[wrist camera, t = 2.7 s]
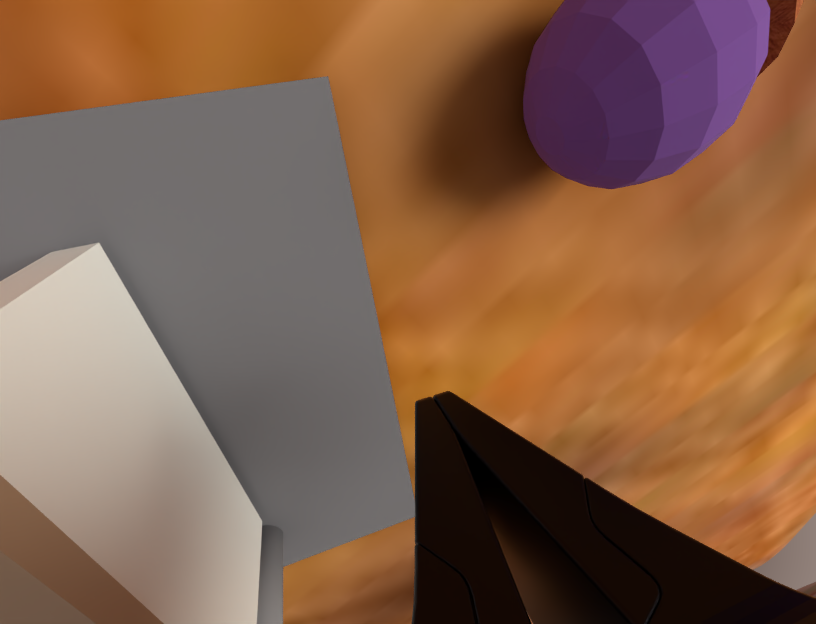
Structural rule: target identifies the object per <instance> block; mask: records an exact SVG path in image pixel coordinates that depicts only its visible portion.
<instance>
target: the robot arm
mask: <svg viewBox="0 0 816 624" xmlns="http://www.w3.org/2000/svg"><path fill="white" fill-rule="evenodd" d="M415 544H416V545H415V575H414V604H413V615H412V624H531V621H530V619H531V620H532V622H533V624H816V598H815V597H812V596H810V595H807V594H804V593H802V592H799V591H796V590H794V589H792V588H789V587H787V586H785V585H782V584H780V583H778V582H776V581H774V580H772V579H769V578H767V577H765V576H764V575H762V574H760V573H758V572H756V571H754V570H752V569H750V568H748V567H746V566H744V565H742V564H740V563H739V562H737V561H735V560H733V559H731V558H729V557H727V556H725V555H723V554H721V553H720V552H718V551H716V550H714V549H712V548H710V547H708V546H706V545H704V544H702V543H700V542H699V541H697V540H695V539H693V538H691V537H689V536H687V535H685V534H683V533H681V532H680V531H678V530H676V529H674V528H672V527H670V526H668V525H666V524H665V523H663V522H661V521H659V520H657V519H655V518H654V517H652V516H650V515H648V514H646V513H645V512H643V511H641V510H639V509H637V508H635V507H634V506H632V505H630V504H629V503H627V502H625V501H624V500H622V499H620V498H619V497H617V496H616V495H614V494H612V493H611V492H609V491H607V490H606V489H604V488H602V487H601V486H599V485H598V484H596V483H594V482H593V481H591V480H590V479H588V478H585V479H584V477H583V475H582V474H580V473H578V472H577V471H575V470H574V469H572V468H571V467H569V466H567V465H566V464H564V463H563V462H561V461H559V460H558V459H556V458H555V457H553V456H552V455H550V454H548V453H547V452H545V451H544V450H542V449H541V448H539V447H537V446H536V445H534V444H533V443H531V442H529V441H528V440H526V439H525V438H523V437H522V436H520V435H518V434H517V433H515V432H514V431H512V430H511V429H509V428H507V427H506V426H504V425H503V424H501V423H499V422H498V421H496V420H495V419H493V418H492V417H490V416H488V415H487V414H485V413H484V412H482V411H481V410H479V409H477V408H476V407H474V406H473V405H471V404H469V403H468V402H466V401H465V400H463V399H462V398H460V397H458V396H457V395H455V394H454V393H452V392H450V391H446V392H443V393H440V394H436V395H434V396H433V398H432V397H427V398H424V399H421V400H418V401H416V403H415ZM527 613H528V614H527ZM528 615H529V616H528ZM529 617H530V619H529Z"/></svg>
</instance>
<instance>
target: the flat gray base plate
mask: <svg viewBox="0 0 816 624" xmlns="http://www.w3.org/2000/svg"><path fill="white" fill-rule="evenodd" d="M94 243H100V245H101V247H102V248H103V250H104V252H105V254H106V255H107V257H108V259H109V260H110V262H111V264H112V266H113V267H114V269H115V271H116V272H117V274H118V276H119V277H120V279H121V281H122V283H123V284H124V286H125V288H126V289H127V291H128V293H129V295H130V296H131V298H132V300H133V301H134V303H135V305H136V306H137V308H138V310H139V312H140V313H141V315H142V317H143V318H144V320H145V322H146V324H147V325H148V327H149V329H150V330H151V332H152V334H153V336H154V337H155V339H156V341H157V342H158V344H159V346H160V347H161V349H162V351H163V353H164V354H165V356H166V358H167V359H168V361H169V363H170V365H171V366H172V368H173V370H174V371H175V373H176V375H177V376H178V378H179V380H180V382H181V383H182V385H183V387H184V388H185V390H186V392H187V394H188V395H189V397H190V399H191V400H192V402H193V404H194V406H195V407H196V409H197V411H198V412H199V414H200V416H201V417H202V419H203V421H204V423H205V424H206V426H207V428H208V429H209V431H210V433H211V435H212V436H213V438H214V440H215V441H216V443H217V445H218V447H219V448H220V450H221V452H222V453H223V455H224V457H225V458H226V460H227V462H228V464H229V465H230V467H231V469H232V470H233V472H234V474H235V476H236V477H237V479H238V481H239V482H240V484H241V486H242V487H243V489H244V491H245V493H246V494H247V496H248V498H249V499H250V501H251V503H252V505H253V506H254V508H255V510H256V511H257V513H258V515H259V517H260V518H261V520H262V536H261V555H260V573H259V591H258V610H257V624H283V567H284V566H287V565H289V564H292V563H295V562H297V561H300V560H303V559H305V558H308V557H310V556H313V555H316V554H318V553H321V552H324V551H326V550H329V549H331V548H334V547H337V546H339V545H342V544H345V543H347V542H350V541H352V540H355V539H358V538H360V537H363V536H366V535H368V534H371V533H374V532H376V531H379V530H381V529H384V528H387V527H389V526H392V525H395V524H397V523H400V522H402V521H405V520H408V519H410V518H413V517H415V500H414V495H413V490H412V485H411V480H410V475H409V470H408V465H407V461H406V456H405V451H404V446H403V441H402V436H401V431H400V426H399V421H398V416H397V412H396V407H395V402H394V397H393V392H392V387H391V382H390V377H389V372H388V367H387V363H386V358H385V353H384V348H383V343H382V338H381V333H380V328H379V323H378V319H377V314H376V309H375V304H374V299H373V294H372V289H371V284H370V279H369V274H368V270H367V265H366V260H365V255H364V250H363V245H362V240H361V235H360V230H359V225H358V221H357V216H356V211H355V206H354V201H353V196H352V191H351V186H350V181H349V176H348V172H347V167H346V162H345V157H344V152H343V147H342V142H341V137H340V132H339V128H338V123H337V118H336V113H335V108H334V103H333V98H332V93H331V88H330V83H329V79H328V76H327V77H320V78H312V79H305V80H298V81H290V82H283V83H275V84H268V85H260V86H253V87H246V88H238V89H231V90H223V91H216V92H209V93H201V94H194V95H186V96H179V97H172V98H164V99H157V100H149V101H142V102H134V103H127V104H120V105H112V106H105V107H97V108H90V109H83V110H75V111H68V112H60V113H53V114H46V115H38V116H31V117H23V118H16V119H8V120H1V121H0V281H2V280H4V279H5V278H7V277H9V276H11V275H12V274H14V273H16V272H17V271H19V270H21V269H23V268H24V267H26V266H28V265H30V264H31V263H33V262H35V261H37V260H38V259H40V258H42V257H43V256H45V255H47V254H49V253H50V252H54V251H59V250H64V249H69V248H74V247H79V246H84V245H89V244H94Z"/></svg>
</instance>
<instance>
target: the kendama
mask: <svg viewBox="0 0 816 624" xmlns="http://www.w3.org/2000/svg"><path fill="white" fill-rule="evenodd" d="M803 1H804V0H564V2H563V3H562V4H561V6H560V7H559V8H558V10H557V11H556V12H555V14H554V15H553V17H552V18H551V20H550V21H549V23H548V24H547V26H546V27H545V29H544V30H543V32H542V34H541V35H540V37H539V38H538V40H537V41H536V43H535V44H534V47H533V51H532V54H531V58H530V61H529V65H528V69H527V72H526V79H525V88H524V96H523V113H524V122H525V126H526V129H527V132H528V136H529V139H530V141H531V143H532V144H533V146H534V148H535V150H536V152H537V153H538V155H539V157H540V158H541V159H542V160H543V161H544V162H545V163H546V164H547V165H548V166H549V167H550V168H551V169H552V170H553V171H555V172H557V173H559V174H560V175H562V176H564V177H566V178H568V179H570V180H573V181H576V182H578V183H581V184H584V185H587V186H592V187H599V188H606V189H615V188H620V187H625V186H630V185H636V184H641V183H644V182H647V181H650V180H654V179H657V178H660V177H663V176H666V175H669V174H672V173H674V172H675V171H677V170H678V169H679V168H681V167H682V166H684V165H685V164H686V163H688V162H689V161H691V160H692V159H693V158H695V157H696V156H698V155H699V154H700V153H702V152H703V151H704V150H705V149H707V148H708V147H709V146H710V145H711V144H712V143H713V142H714V141H715V140H716V139H717V138H719V137H720V136H721V135H722V134H723V133H724V132H725V131H726V130H727V129H728V128H730V127H731V126H732V125H733V124H734V122H735V120H736V119H737V117H738V115H739V113H740V111H741V109H742V107H743V105H744V103H745V101H746V99H747V97H748V95H749V93H750V91H751V88H752V86H753V84H754V82H755V80H756V78H757V77H758V76H759V75H760V74H761V73H762V72H763V71H764V70H765V69H766V68H767V67H768V66H769V65H770V64H771V63H772V62H773V61H774V60H775V59H776V58H777V57H778V55H779V53H780V51H781V49H782V47H783V45H784V43H785V41H786V39H787V37H788V35H789V33H790V31H791V29H792V27H793V25H794V23H795V21H796V18H797V16H798V13H799V11H800V8H801V6H802V3H803Z"/></svg>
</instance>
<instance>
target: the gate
mask: <svg viewBox="0 0 816 624" xmlns="http://www.w3.org/2000/svg"><path fill="white" fill-rule="evenodd" d="M261 536H262V520H261V518H260V517H259V515H258V513H257V511H256V510H255V508H254V506H253V505H252V503H251V501H250V499H249V498H248V496H247V494H246V493H245V491H244V489H243V487H242V486H241V484H240V482H239V481H238V479H237V477H236V476H235V474H234V472H233V470H232V469H231V467H230V465H229V464H228V462H227V460H226V458H225V457H224V455H223V453H222V452H221V450H220V448H219V447H218V445H217V443H216V441H215V440H214V438H213V436H212V435H211V433H210V431H209V429H208V428H207V426H206V424H205V423H204V421H203V419H202V417H201V416H200V414H199V412H198V411H197V409H196V407H195V406H194V404H193V402H192V400H191V399H190V397H189V395H188V394H187V392H186V390H185V388H184V387H183V385H182V383H181V382H180V380H179V378H178V376H177V375H176V373H175V371H174V370H173V368H172V366H171V365H170V363H169V361H168V359H167V358H166V356H165V354H164V353H163V351H162V349H161V347H160V346H159V344H158V342H157V341H156V339H155V337H154V336H153V334H152V332H151V330H150V329H149V327H148V325H147V324H146V322H145V320H144V318H143V317H142V315H141V313H140V312H139V310H138V308H137V306H136V305H135V303H134V301H133V300H132V298H131V296H130V295H129V293H128V291H127V289H126V288H125V286H124V284H123V283H122V281H121V279H120V277H119V276H118V274H117V272H116V271H115V269H114V267H113V266H112V264H111V262H110V260H109V259H108V257H107V255H106V254H105V252H104V250H103V248H102V247H101V245H100V243H94V244H89V245H84V246H79V247H74V248H69V249H64V250H59V251H54V252H50V253H49V254H47V255H45V256H43V257H42V258H40V259H38V260H37V261H35V262H33V263H31V264H30V265H28V266H26V267H24V268H23V269H21V270H19V271H17V272H16V273H14V274H12V275H11V276H9V277H7V278H5V279H4V280H2V281H0V624H257V610H258V591H259V573H260V555H261Z"/></svg>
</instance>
